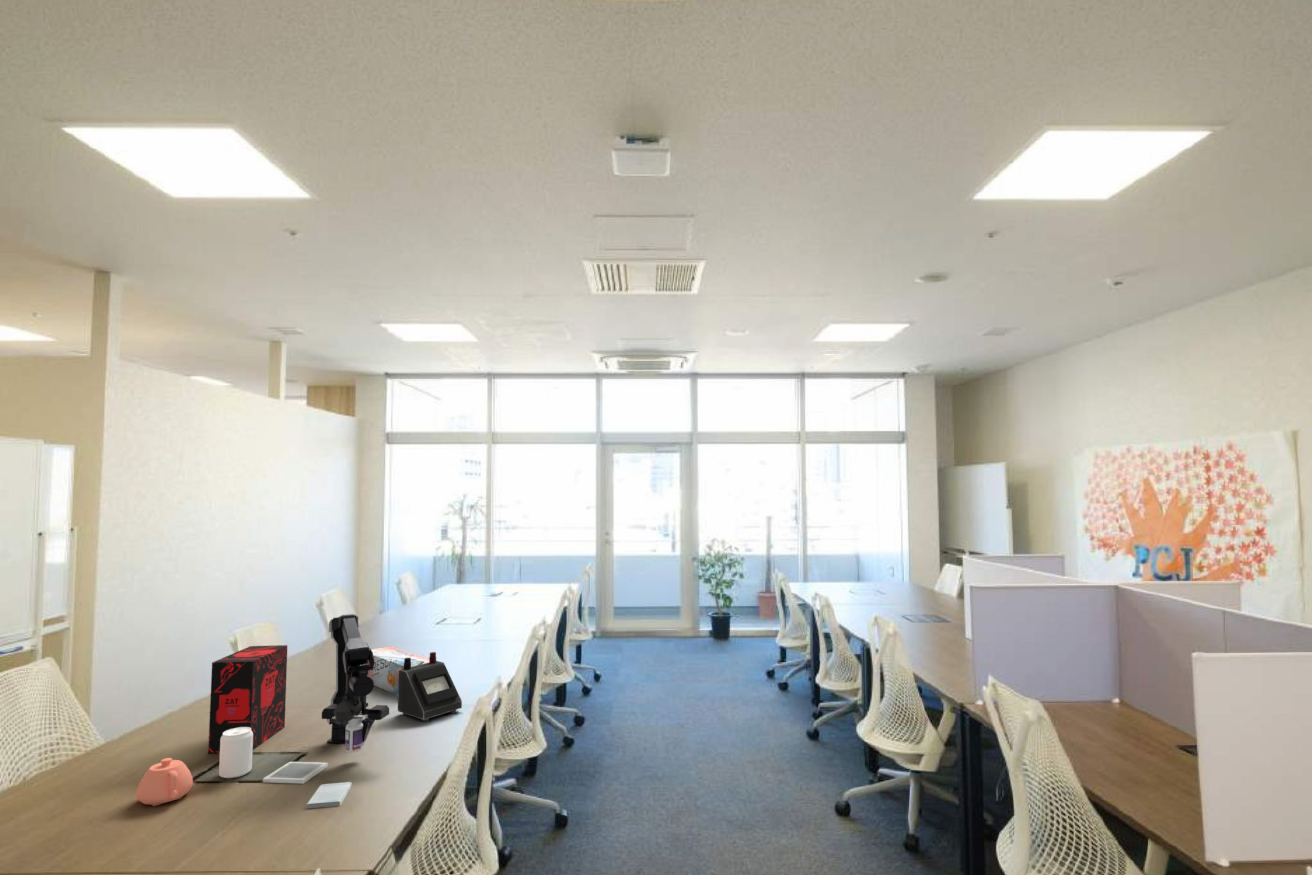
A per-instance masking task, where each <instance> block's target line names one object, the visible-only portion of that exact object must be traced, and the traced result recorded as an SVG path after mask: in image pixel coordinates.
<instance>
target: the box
mask: <svg viewBox="0 0 1312 875" xmlns="http://www.w3.org/2000/svg"><path fill="white" fill-rule="evenodd" d="M287 665H288V645H287V644H283V645H279V644H277V645H275V644H274V645H250V646H247V647H246V648H243V649H240V650H238V651H236V652H233V653H231V654H229V655H226V656H225V657H222V658H220V659H218V660H217V659H216V660H215V661H212V662H211V676H210V678H211V680H210V703H209V722H208V723H209V726H208V727H209V728H208V748H207V749H208V752H207V754H208V755H220V739H221V737H222V735H223V732H225V731H227V730H230V729H233V728H239V727H249V728H251V731H252V732H253V749H252V752H253V751H254V750H256V749H257V748H258V747H260V746H261V745H262V744H264V743H265V742H267V740H270V739H271V738H272V737H273V736H275V735H276V734H278V733H279V732H281V731H282V730H284V728H286V726H285V724H286V697H287V696H286V694H287V691H286V690H287V669H288V668H287V667H288V666H287Z"/></svg>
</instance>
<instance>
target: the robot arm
mask: <svg viewBox="0 0 1312 875" xmlns="http://www.w3.org/2000/svg"><path fill="white" fill-rule="evenodd" d="M359 627H360V626H359V616H357V614H355V613H350V614H348V613H347V614H342V615H339V616H337V617H333V618H332V619H330V620H329V622H328V633H330V638H331V639H332V641H333V642H334V644H335V692H334V693H333V694H332V697H331V698H330V704H329V705H328V706H327V707H324V708H323V710H322V712H321V719H322V720H326V722H327V724H328V725H331V738H329V739H327V741H326V743H327V744H330V743H331V744H332V743H333V744H345V732H346V726H347V725H348V724H349V723H348V721H350V720H351V719H352V718H353V716H358V715H362V716H365V717H364V718H363V720H362V721H361V722H362V724H363V734H362V740H363V742H364V741H365V742H366V740H367V738H368V736H369V733H370V732H371V729H372V726H373V725H374V723H375V721H381V720H383V719H385V718H386V717H387V716H389V715H390V708H389V706H388V705H387V704H386V705H385V704H376V705H375V706H373V707H371V708H368V707H369V702H367V696H368V695H369V694H370V693H371V692H372V691H373V690H374V687H375V686H374V682H373V680H372V679H371V678H370V677H369V675H368V670H373V666H374V664H375V663H374V657H373V652H372V651H371V650H372V648H370V646H369V644H368V642H367V641H365V640H363V639H362V637H361V636H362V635H361V634H360V631H359ZM368 661H369V664H368ZM365 664H368V665H365Z"/></svg>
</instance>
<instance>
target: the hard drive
mask: <svg viewBox="0 0 1312 875" xmlns="http://www.w3.org/2000/svg"><path fill="white" fill-rule="evenodd" d="M352 784H353V783H352V782H351V781H347V782H335V783H334V782H333V783H325V784H324V783H322V784H320V785H319V786H318V787H317V789H316V791H315V792H314V793H313V795H312V796H311V798H310V799H309V801H308V802H307V803H306V805H305V806H306V807H305V808H306V809H315V808H317V809H319V808H325V807H334V806H335V807H336V806H341V805H342V803H343V801H344V800H345V798H346V797H347V794H348V792H349V791H350V789H351V787H352V786H353V785H352Z"/></svg>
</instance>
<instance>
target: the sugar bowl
mask: <svg viewBox="0 0 1312 875" xmlns="http://www.w3.org/2000/svg"><path fill="white" fill-rule="evenodd" d="M193 784H194V779H193V776H192V772H191V771H190V769H189V768H188V766H187V765H186V764H185V763H184V762H183V761H181V760H180V759H179V760H178V759H173V758H172V757H166V758H163V759H161V760H160V762H158V763H155V764H153V765H151V766H150V767H149V768H148V769H147V771H146V772H145V773H144V775H143V777H142V778H141V779H140V780H139V783H138V786H137V788H136V792H135V797H136V799H137V800H138V801H139V802H141V803H142V804H144V805H151V806H152V807H156V806H160V805H162V804H165V803H168V802H169V803H170V802H173V801H175V800H181V799H182V798H183V796H185V795H187V793H188V792H189V791H190V790H191V788H192V787H193Z"/></svg>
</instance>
